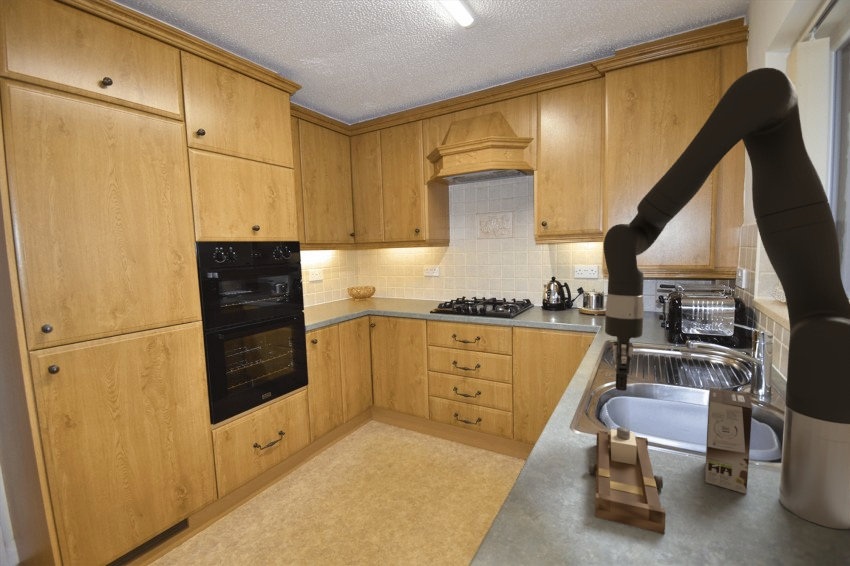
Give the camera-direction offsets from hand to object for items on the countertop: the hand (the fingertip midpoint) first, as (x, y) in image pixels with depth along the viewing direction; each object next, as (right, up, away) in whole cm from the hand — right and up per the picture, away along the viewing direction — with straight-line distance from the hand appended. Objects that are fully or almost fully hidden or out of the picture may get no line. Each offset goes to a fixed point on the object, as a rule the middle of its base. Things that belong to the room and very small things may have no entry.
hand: (620, 389), depth 89 cm
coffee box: (+14, -14, -13) cm, 23 cm away
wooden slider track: (-6, -14, -14) cm, 21 cm away
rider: (-4, -12, -8) cm, 14 cm away
